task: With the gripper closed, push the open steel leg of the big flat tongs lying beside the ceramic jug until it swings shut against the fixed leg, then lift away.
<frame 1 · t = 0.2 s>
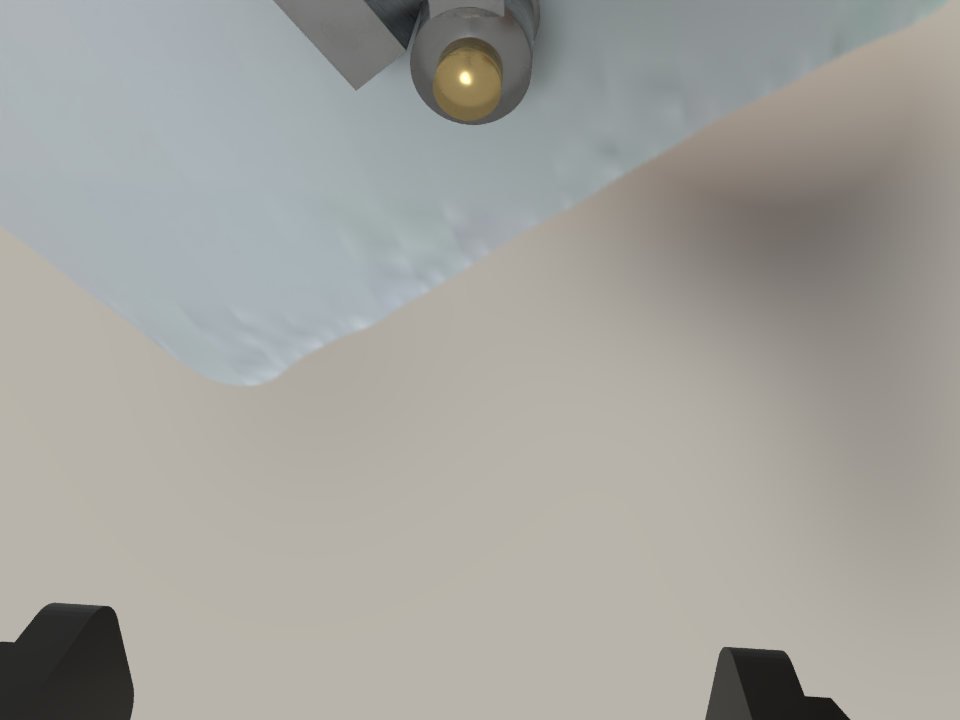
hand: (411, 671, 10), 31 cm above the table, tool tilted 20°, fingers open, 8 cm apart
tong base: (480, 15, 34), on the table
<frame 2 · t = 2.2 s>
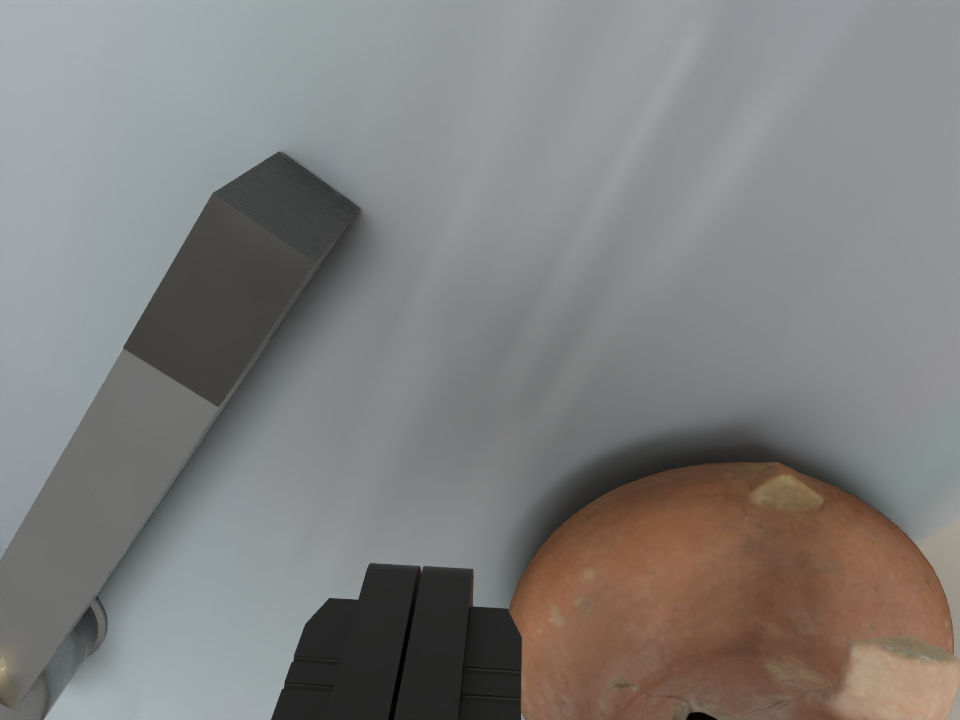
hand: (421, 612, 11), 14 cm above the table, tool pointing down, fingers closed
tong base: (43, 612, 31), on the table
ceramic jug: (694, 600, 29), on the table
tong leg: (107, 497, 25), point 3 cm above the table, hinge at 35.0°
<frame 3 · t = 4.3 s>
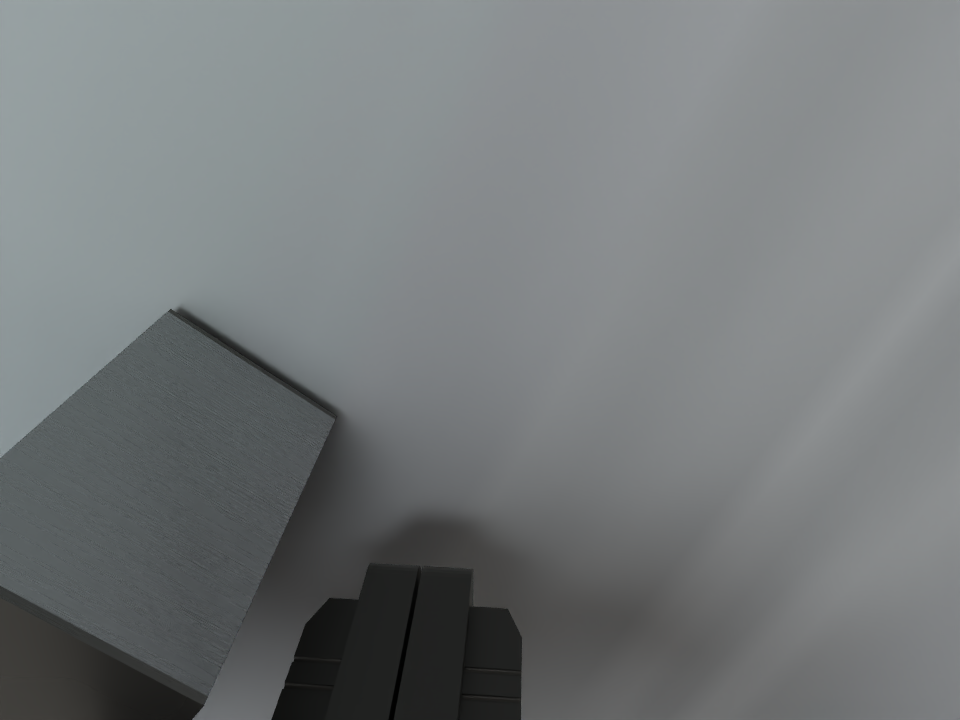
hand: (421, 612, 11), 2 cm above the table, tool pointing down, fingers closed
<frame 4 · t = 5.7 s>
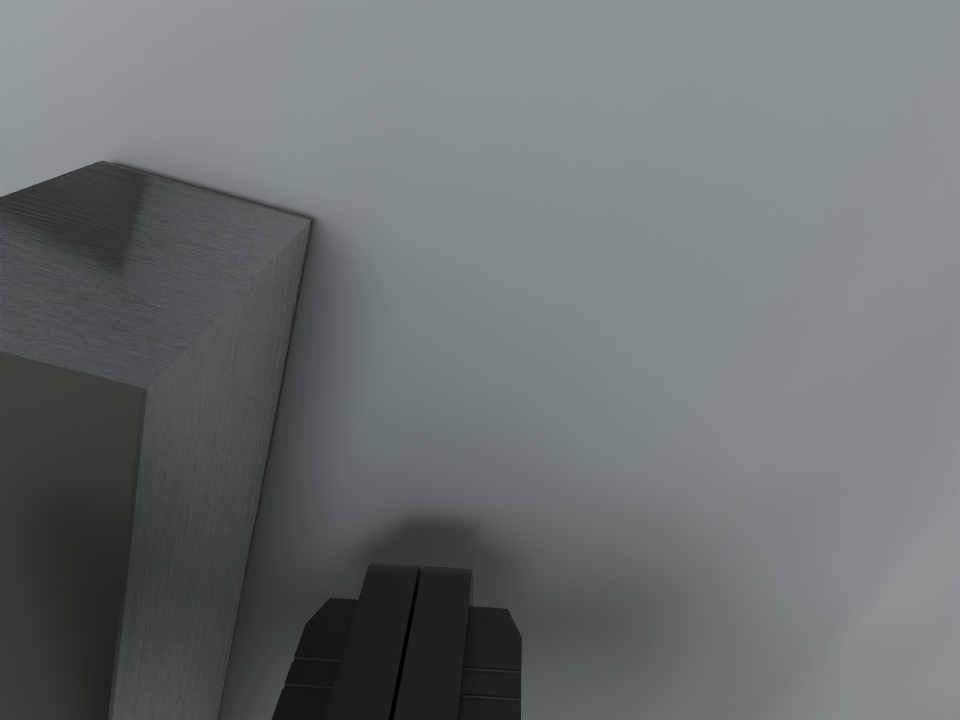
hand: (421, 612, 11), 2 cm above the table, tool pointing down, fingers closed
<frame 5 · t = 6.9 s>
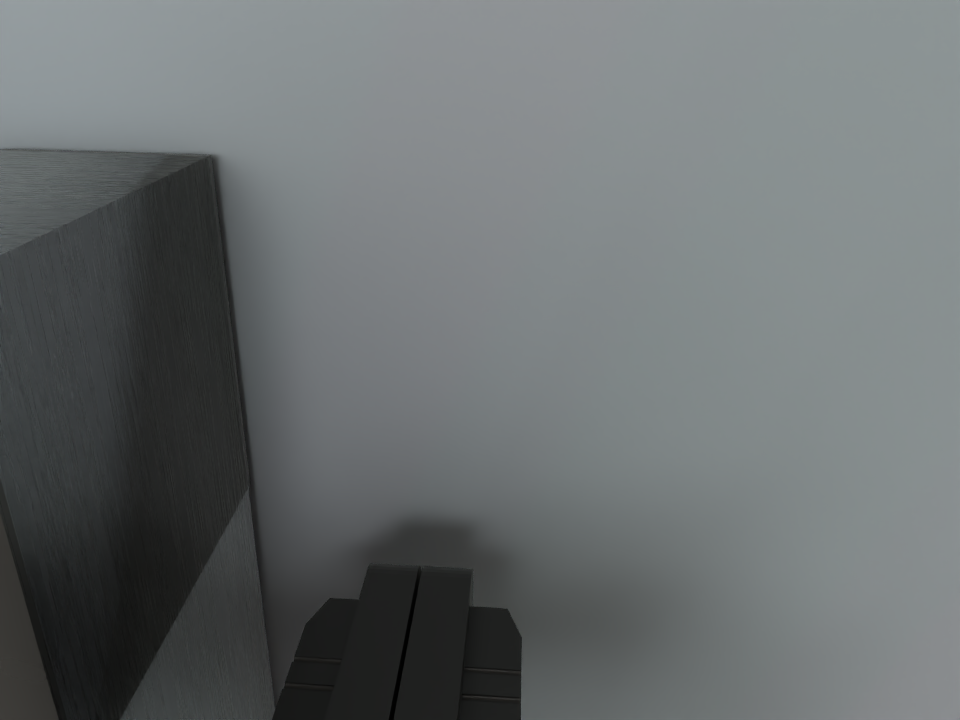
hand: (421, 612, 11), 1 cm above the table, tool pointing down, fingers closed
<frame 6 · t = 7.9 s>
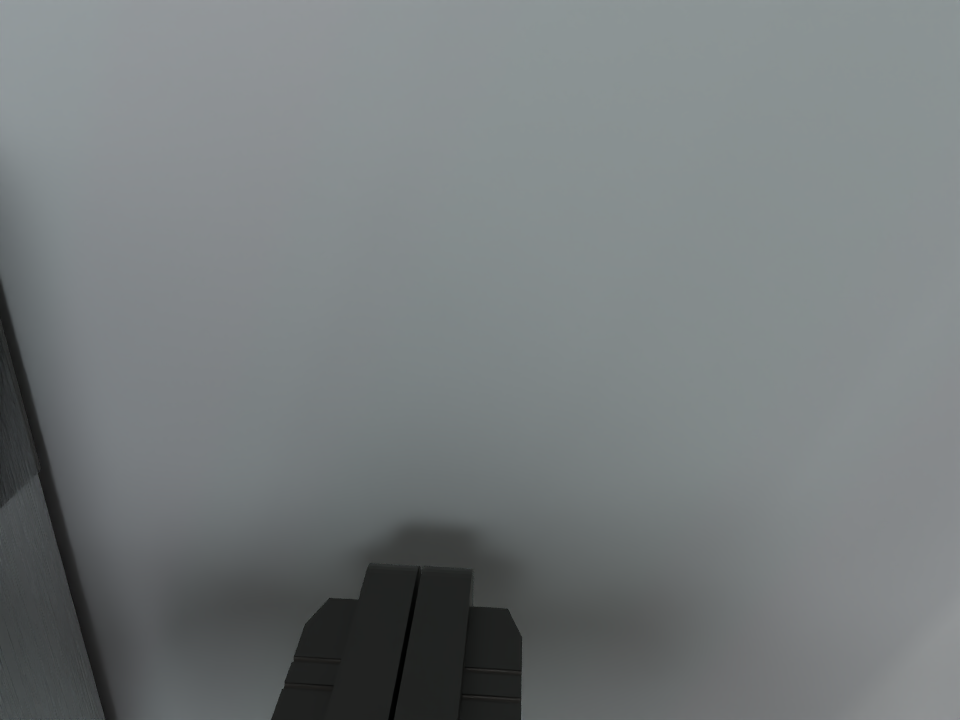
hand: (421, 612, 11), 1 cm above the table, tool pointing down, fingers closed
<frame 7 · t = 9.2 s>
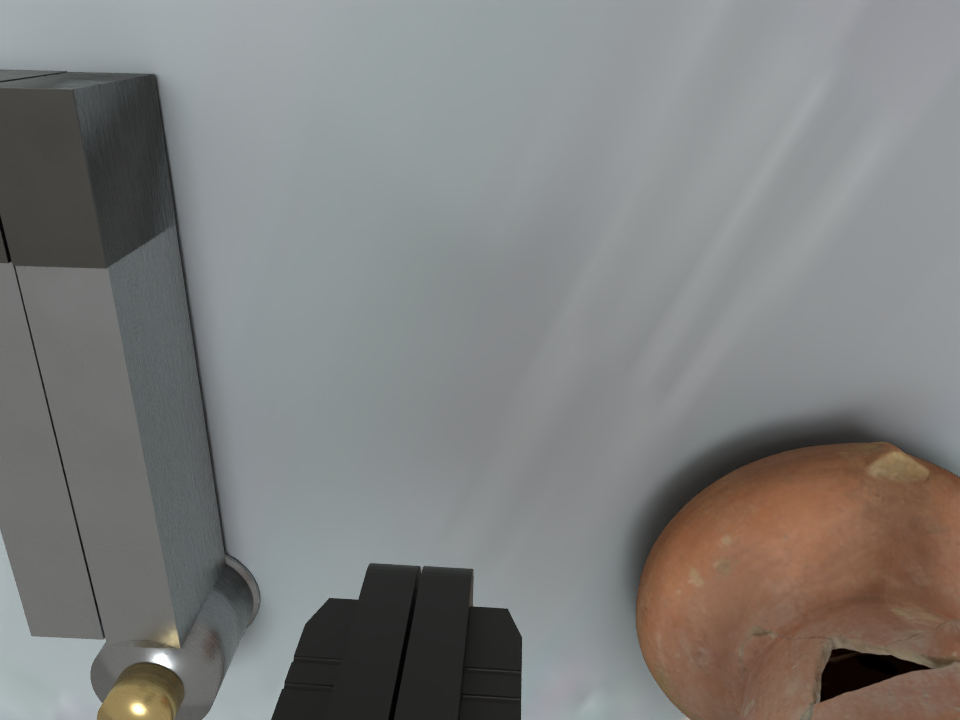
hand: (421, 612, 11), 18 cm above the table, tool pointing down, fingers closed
tong base: (202, 592, 35), on the table
ceramic jug: (792, 570, 33), on the table
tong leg: (138, 434, 28), point 3 cm above the table, hinge at -0.2°
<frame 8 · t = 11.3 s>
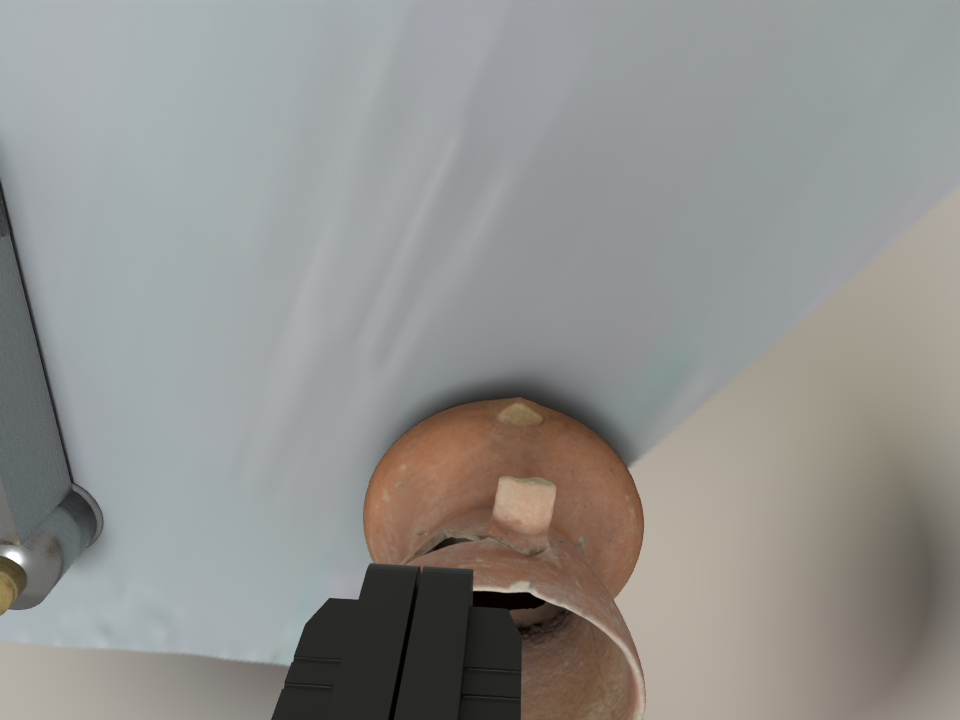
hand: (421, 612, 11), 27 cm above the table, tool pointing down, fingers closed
tong base: (59, 513, 45), on the table
ceramic jug: (501, 500, 43), on the table
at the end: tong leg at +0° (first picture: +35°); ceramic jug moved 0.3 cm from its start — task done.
